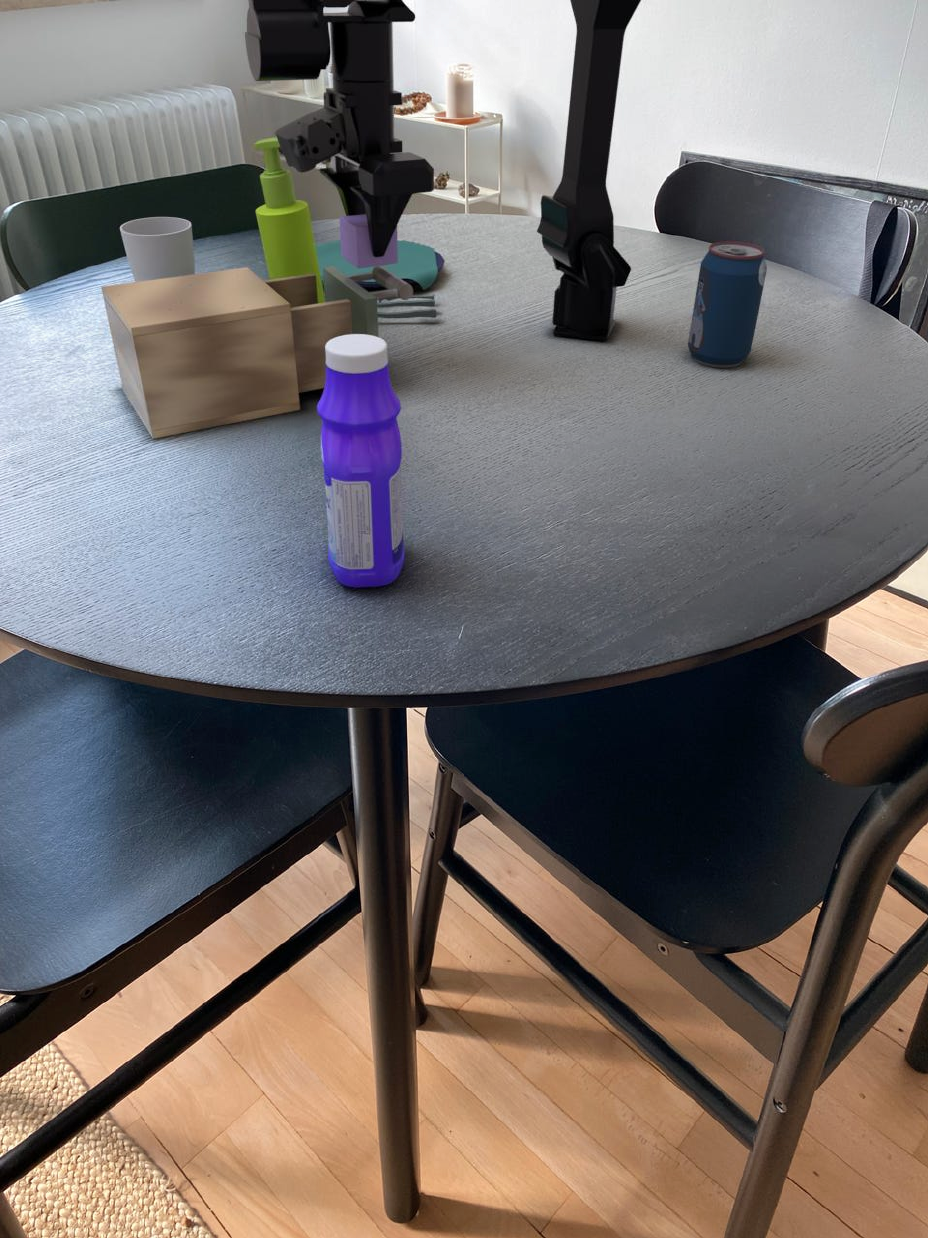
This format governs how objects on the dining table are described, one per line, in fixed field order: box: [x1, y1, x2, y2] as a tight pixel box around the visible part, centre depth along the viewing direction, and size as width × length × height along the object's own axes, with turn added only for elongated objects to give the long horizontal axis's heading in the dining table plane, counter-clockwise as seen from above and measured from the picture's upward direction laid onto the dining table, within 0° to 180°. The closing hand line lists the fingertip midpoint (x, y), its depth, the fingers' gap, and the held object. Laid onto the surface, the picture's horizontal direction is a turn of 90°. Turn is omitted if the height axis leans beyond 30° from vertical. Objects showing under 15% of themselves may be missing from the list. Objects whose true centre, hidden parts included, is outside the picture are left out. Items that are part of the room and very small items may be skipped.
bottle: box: [316, 334, 405, 588], centre depth 67 cm, size 7×6×17 cm
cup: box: [119, 216, 196, 282], centre depth 114 cm, size 8×8×10 cm
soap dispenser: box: [253, 136, 325, 304], centre depth 108 cm, size 6×7×20 cm
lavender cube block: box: [338, 214, 398, 268], centre depth 98 cm, size 4×4×4 cm
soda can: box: [687, 240, 768, 369], centre depth 104 cm, size 7×7×12 cm
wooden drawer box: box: [101, 266, 301, 440], centre depth 93 cm, size 15×13×11 cm
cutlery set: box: [315, 239, 446, 319], centre depth 125 cm, size 20×30×2 cm, turn 4°
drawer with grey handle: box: [262, 266, 414, 393], centre depth 98 cm, size 18×11×9 cm, turn 118°
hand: (368, 250), depth 98 cm, fingers closed on lavender cube block, 4 cm apart
